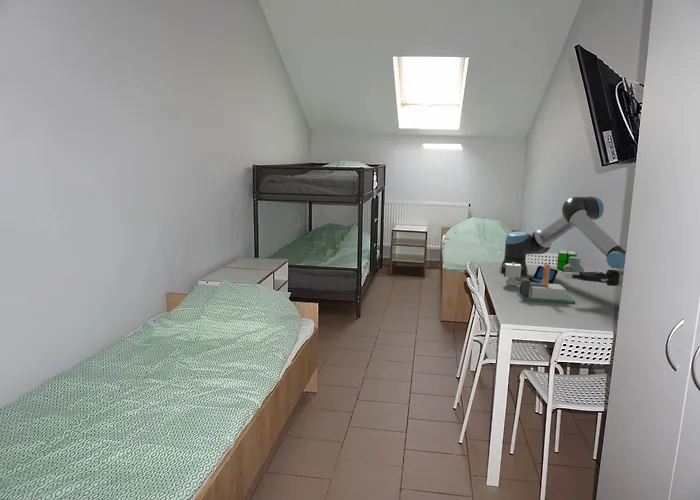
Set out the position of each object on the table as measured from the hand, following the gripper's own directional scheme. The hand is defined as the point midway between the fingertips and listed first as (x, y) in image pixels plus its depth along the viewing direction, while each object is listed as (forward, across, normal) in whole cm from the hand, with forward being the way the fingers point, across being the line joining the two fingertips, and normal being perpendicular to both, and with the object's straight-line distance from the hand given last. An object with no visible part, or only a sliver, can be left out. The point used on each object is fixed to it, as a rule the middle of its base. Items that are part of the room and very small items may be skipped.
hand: (564, 275), depth 256 cm
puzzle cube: (-23, +75, -12) cm, 80 cm away
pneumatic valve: (+19, +25, -12) cm, 34 cm away
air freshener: (-22, +59, -12) cm, 64 cm away
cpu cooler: (+8, +1, -12) cm, 14 cm away
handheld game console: (+1, +36, -12) cm, 38 cm away
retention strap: (+15, +1, -6) cm, 16 cm away
